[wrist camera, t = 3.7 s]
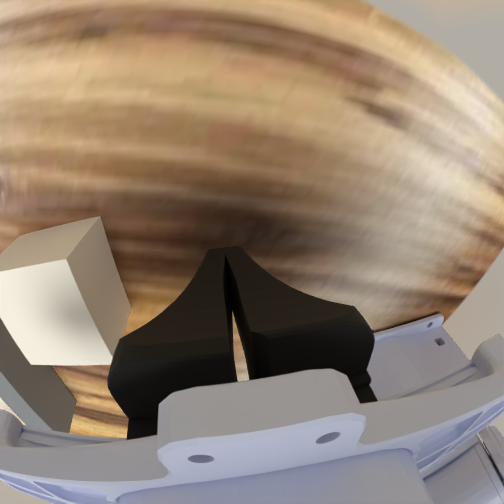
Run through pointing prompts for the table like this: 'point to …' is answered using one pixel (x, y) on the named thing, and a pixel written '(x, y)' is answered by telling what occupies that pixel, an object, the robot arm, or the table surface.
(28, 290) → the cream block
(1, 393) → the gray bar
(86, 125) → the table surface
